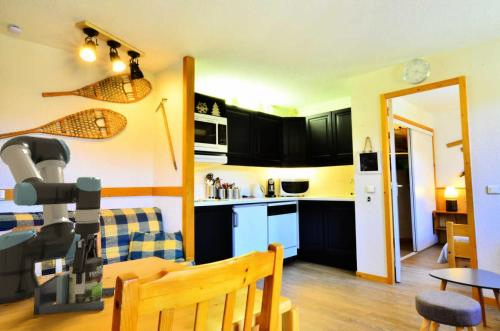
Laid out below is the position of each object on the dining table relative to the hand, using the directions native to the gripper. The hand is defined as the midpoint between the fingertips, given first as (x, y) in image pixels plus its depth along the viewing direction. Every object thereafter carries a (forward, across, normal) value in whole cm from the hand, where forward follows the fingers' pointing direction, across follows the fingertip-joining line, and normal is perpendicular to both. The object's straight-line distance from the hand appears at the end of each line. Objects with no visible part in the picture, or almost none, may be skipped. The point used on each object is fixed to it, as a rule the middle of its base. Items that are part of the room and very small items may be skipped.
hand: (85, 287), depth 100 cm
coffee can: (+5, 0, 0) cm, 5 cm away
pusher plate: (+5, 0, +6) cm, 7 cm away
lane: (+5, 0, +2) cm, 5 cm away
